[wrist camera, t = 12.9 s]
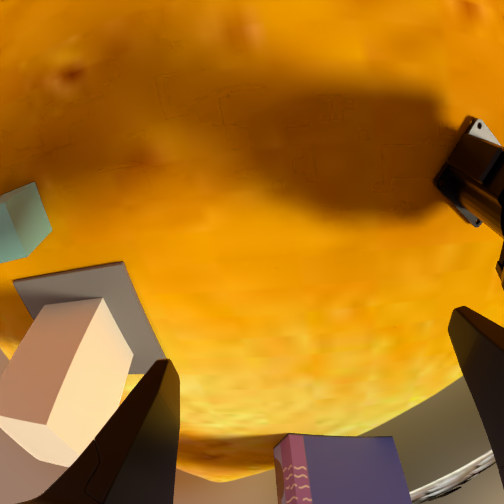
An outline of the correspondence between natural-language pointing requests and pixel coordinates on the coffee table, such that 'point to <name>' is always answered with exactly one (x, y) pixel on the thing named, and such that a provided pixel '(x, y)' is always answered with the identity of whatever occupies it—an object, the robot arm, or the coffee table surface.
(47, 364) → the white boxy piece
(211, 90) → the coffee table surface
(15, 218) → the teal cube
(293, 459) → the cereal box
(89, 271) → the mat
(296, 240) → the coffee table surface
